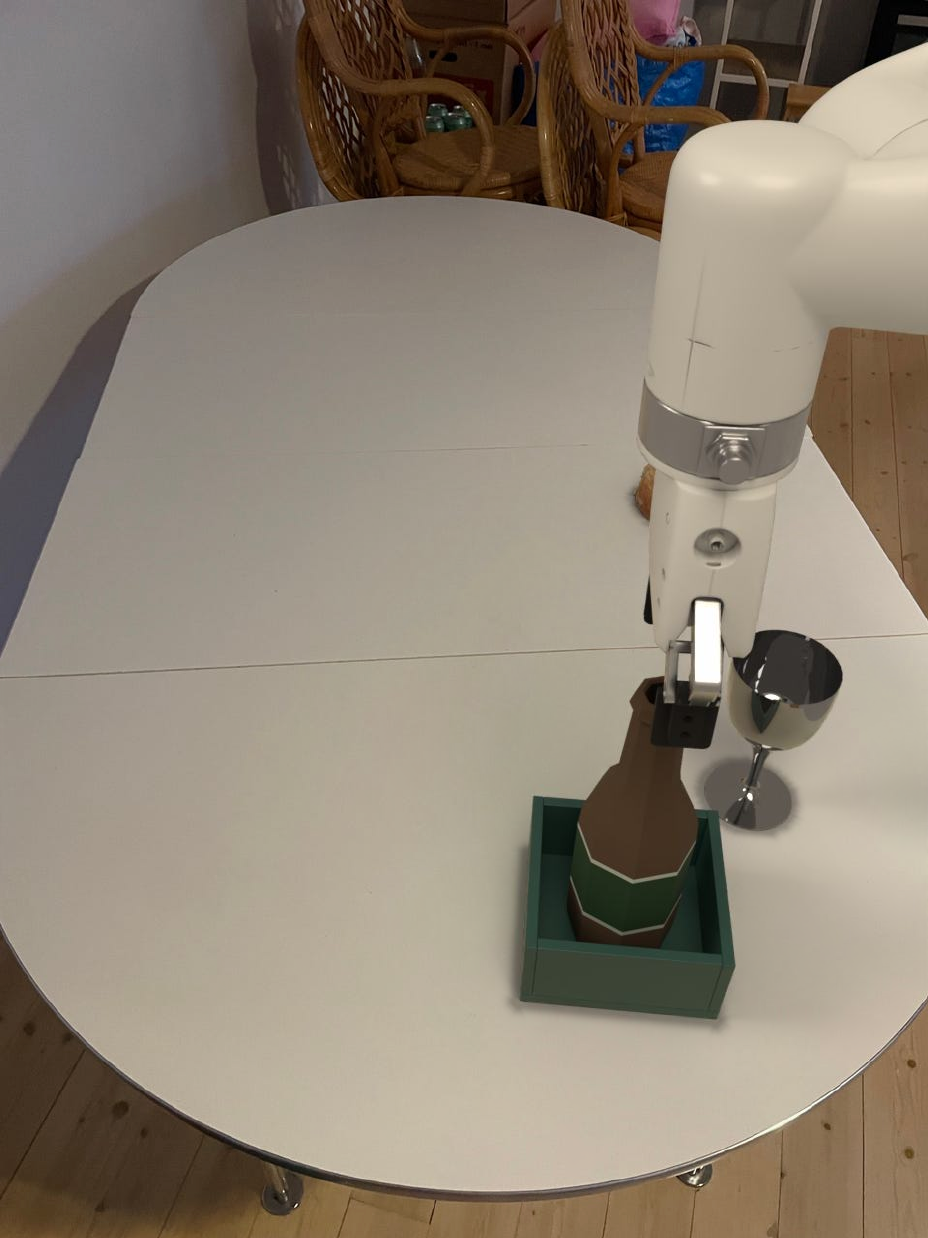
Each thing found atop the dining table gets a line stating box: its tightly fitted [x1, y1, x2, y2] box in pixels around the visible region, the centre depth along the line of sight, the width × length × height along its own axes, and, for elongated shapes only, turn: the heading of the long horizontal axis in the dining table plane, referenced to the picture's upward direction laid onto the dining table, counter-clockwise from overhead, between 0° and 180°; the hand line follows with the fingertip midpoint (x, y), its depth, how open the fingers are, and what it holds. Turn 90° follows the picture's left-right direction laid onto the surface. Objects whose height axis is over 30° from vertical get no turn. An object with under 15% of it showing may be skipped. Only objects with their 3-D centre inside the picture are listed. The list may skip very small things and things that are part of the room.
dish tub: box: [519, 795, 736, 1020], centre depth 75 cm, size 14×13×7 cm
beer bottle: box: [567, 675, 699, 949], centre depth 68 cm, size 8×8×24 cm
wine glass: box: [703, 629, 844, 831], centre depth 81 cm, size 8×8×15 cm
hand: (674, 679), depth 60 cm, fingers open, 9 cm apart
